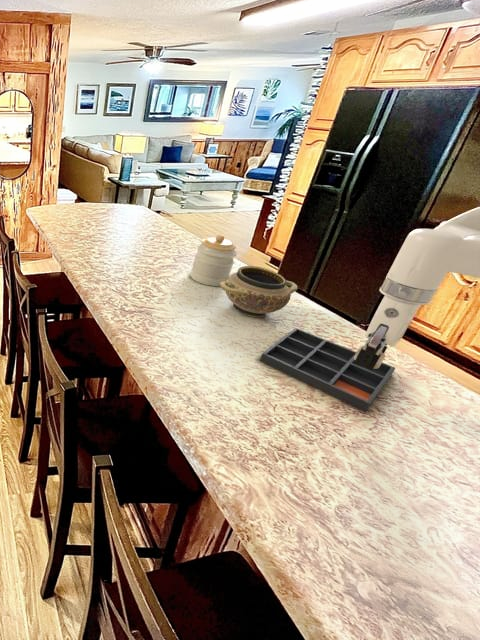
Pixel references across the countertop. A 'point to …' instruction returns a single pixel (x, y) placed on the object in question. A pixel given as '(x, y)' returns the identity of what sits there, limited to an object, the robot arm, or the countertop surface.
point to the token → (377, 361)
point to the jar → (213, 261)
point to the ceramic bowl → (257, 291)
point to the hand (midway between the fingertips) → (366, 361)
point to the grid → (327, 368)
